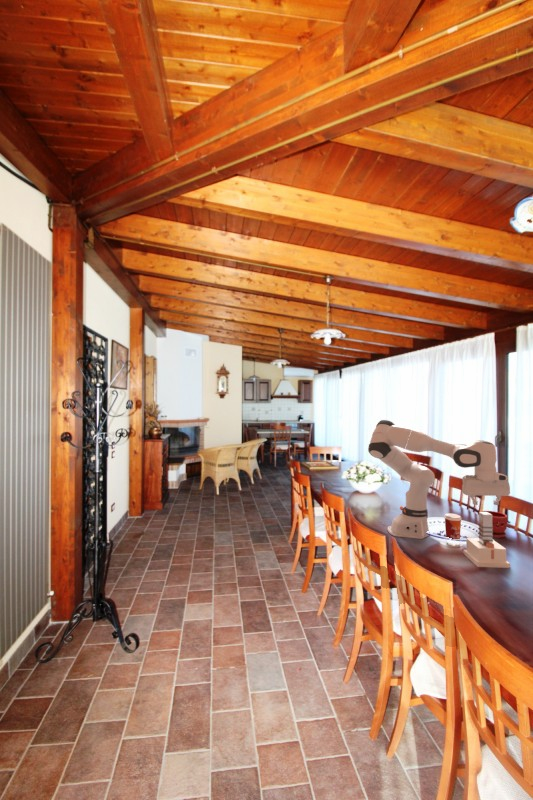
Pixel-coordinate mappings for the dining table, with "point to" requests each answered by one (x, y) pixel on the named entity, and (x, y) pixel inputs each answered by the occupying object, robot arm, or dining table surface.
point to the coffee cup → (452, 525)
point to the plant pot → (498, 524)
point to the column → (485, 528)
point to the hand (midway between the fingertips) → (485, 504)
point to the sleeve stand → (486, 554)
